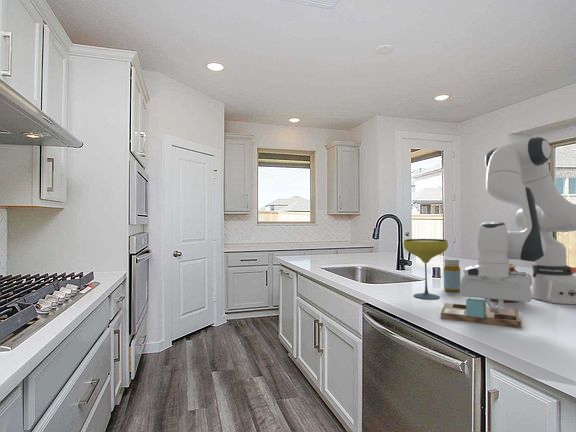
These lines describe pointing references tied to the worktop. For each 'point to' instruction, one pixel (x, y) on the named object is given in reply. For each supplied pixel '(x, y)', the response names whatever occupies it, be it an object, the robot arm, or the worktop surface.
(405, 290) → the worktop surface
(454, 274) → the bottle
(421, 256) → the cocktail glass
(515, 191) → the robot arm
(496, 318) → the board
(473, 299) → the teal block
